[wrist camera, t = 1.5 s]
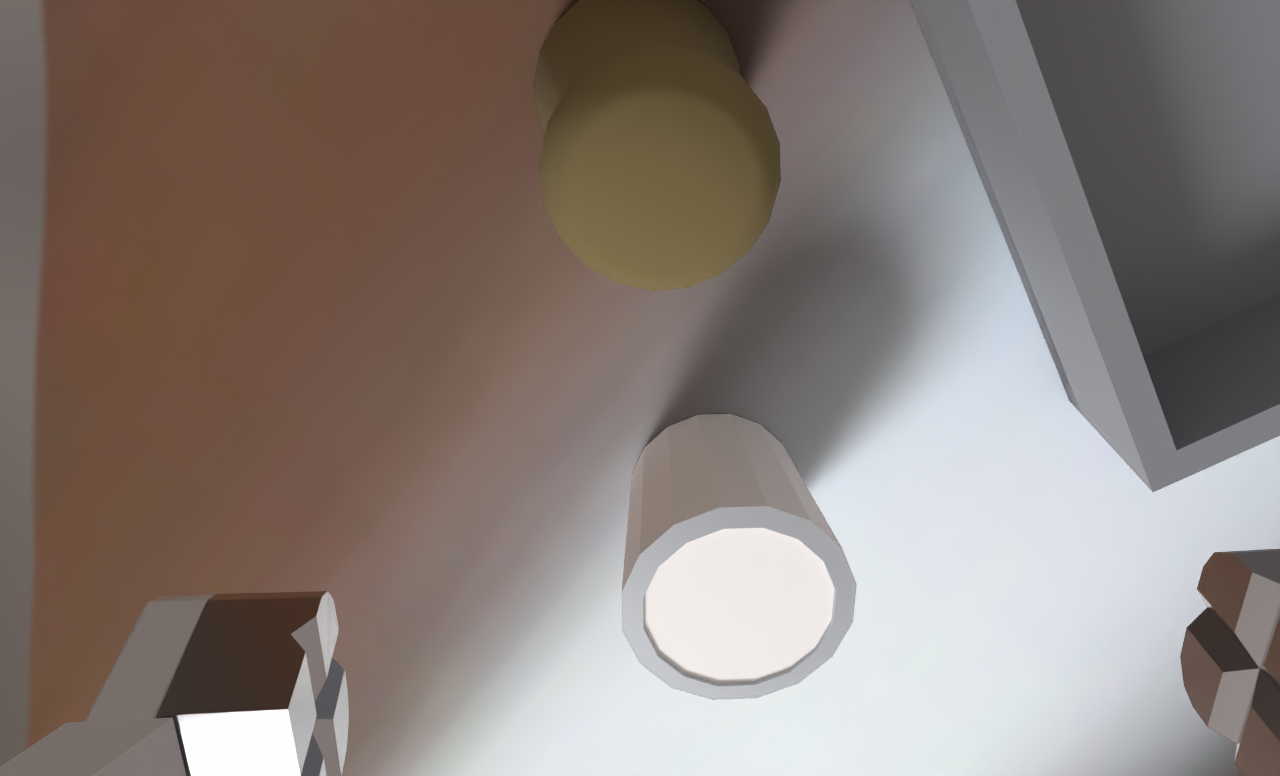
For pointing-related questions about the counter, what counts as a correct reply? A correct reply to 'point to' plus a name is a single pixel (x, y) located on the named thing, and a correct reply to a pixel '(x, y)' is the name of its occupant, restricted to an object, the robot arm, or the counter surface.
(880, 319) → the counter surface
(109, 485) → the counter surface
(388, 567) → the counter surface
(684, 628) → the shot glass
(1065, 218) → the bin
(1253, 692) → the robot arm
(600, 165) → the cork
